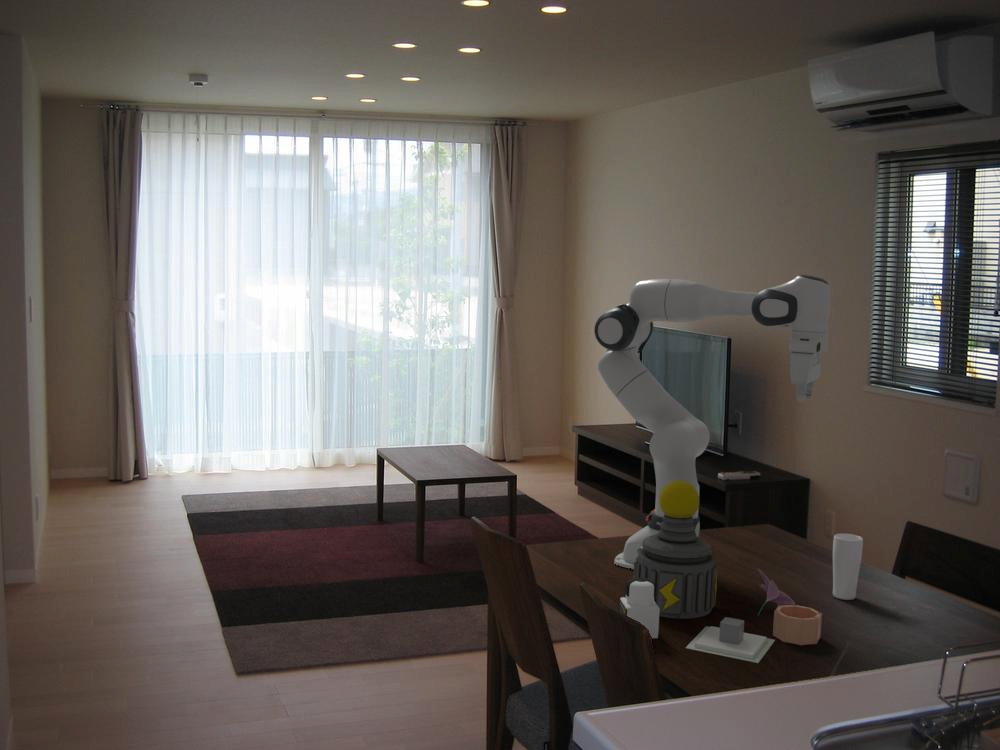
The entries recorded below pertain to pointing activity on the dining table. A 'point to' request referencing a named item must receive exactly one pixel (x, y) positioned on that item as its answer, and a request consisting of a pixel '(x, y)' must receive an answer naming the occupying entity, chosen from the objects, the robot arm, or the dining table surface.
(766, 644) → the mat
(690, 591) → the decorative lamp
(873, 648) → the dining table surface
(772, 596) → the lily
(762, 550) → the dining table surface
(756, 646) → the lid
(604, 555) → the dining table surface
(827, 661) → the dining table surface
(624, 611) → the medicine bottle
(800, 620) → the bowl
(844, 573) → the drinking glass
